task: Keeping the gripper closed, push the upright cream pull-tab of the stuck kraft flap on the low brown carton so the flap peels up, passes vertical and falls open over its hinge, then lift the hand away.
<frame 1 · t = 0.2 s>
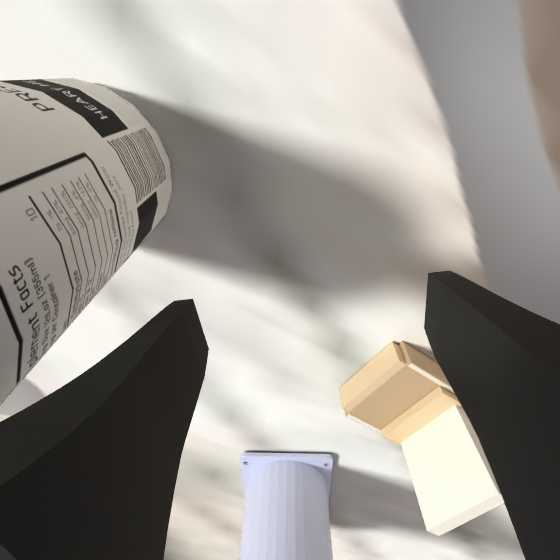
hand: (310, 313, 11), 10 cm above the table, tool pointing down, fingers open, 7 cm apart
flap: (440, 459, 22), point 5 cm above the table, hinge at -0.1°
carton: (400, 386, 26), on the table
supplement can: (100, 166, 19), on the table
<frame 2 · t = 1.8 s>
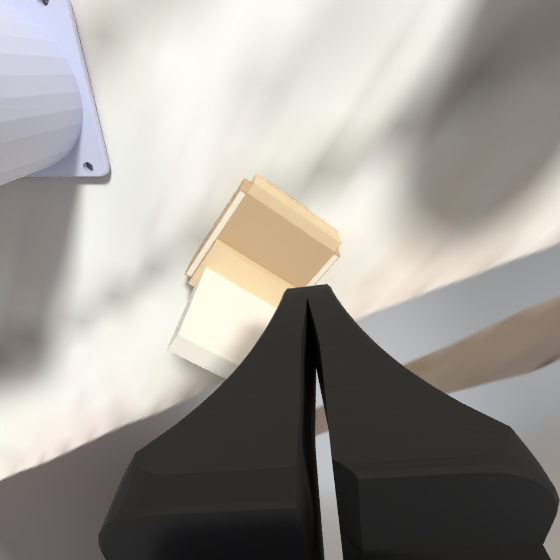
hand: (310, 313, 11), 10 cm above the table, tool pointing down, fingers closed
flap: (240, 317, 18), point 5 cm above the table, hinge at -0.1°
carton: (262, 249, 21), on the table
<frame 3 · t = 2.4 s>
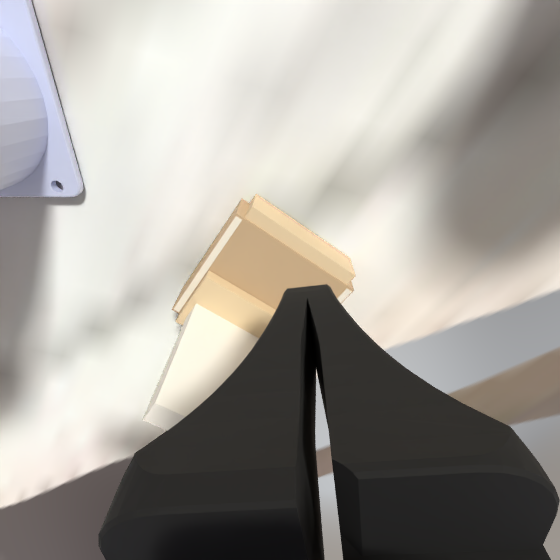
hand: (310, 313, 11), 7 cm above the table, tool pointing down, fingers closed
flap: (235, 367, 15), point 5 cm above the table, hinge at -0.1°
carton: (263, 279, 19), on the table
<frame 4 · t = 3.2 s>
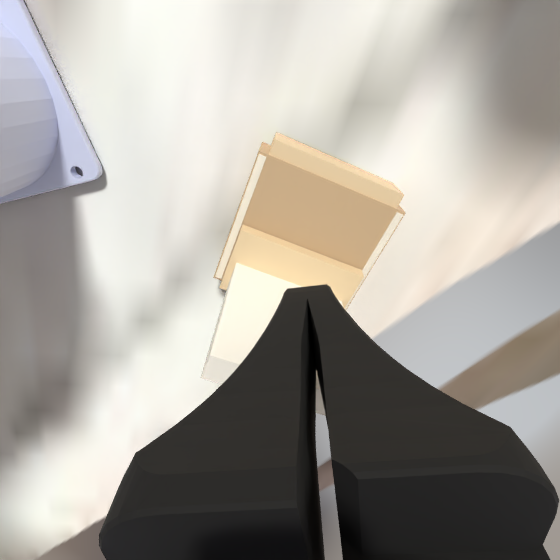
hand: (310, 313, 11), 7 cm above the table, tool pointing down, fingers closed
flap: (290, 317, 13), point 5 cm above the table, hinge at 0.5°, touching gripper
carton: (302, 229, 17), on the table
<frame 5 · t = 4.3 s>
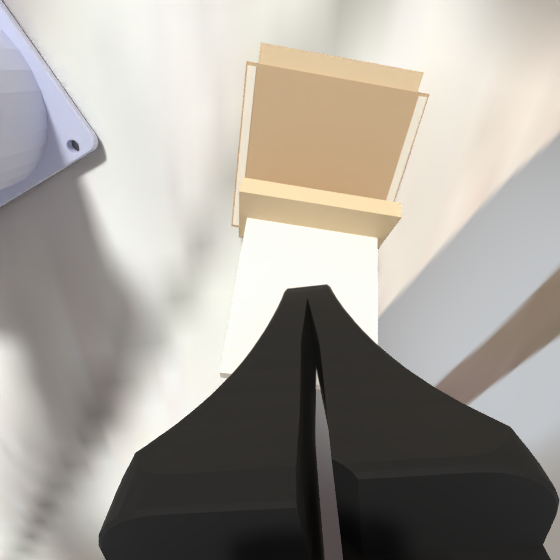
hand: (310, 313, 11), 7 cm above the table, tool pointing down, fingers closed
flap: (307, 290, 12), point 6 cm above the table, hinge at 35.8°
carton: (317, 156, 15), on the table
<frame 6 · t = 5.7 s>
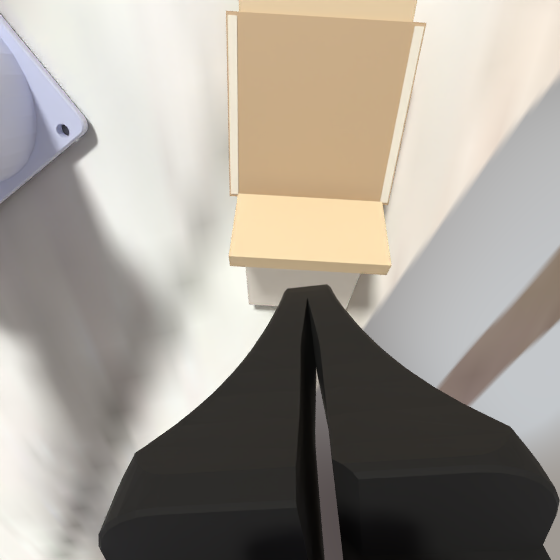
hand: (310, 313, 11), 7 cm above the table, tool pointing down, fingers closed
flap: (302, 274, 16), point 2 cm above the table, hinge at 117.8°
carton: (313, 114, 15), on the table
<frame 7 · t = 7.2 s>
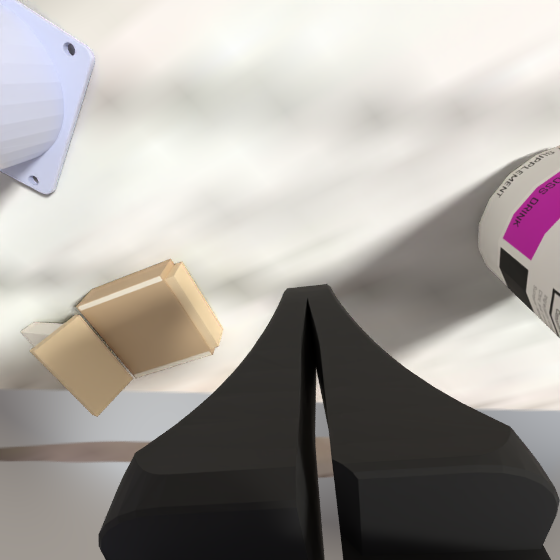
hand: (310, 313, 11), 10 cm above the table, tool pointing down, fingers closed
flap: (65, 361, 23), point 2 cm above the table, hinge at 117.8°
carton: (157, 312, 24), on the table
supplement can: (545, 214, 20), on the table
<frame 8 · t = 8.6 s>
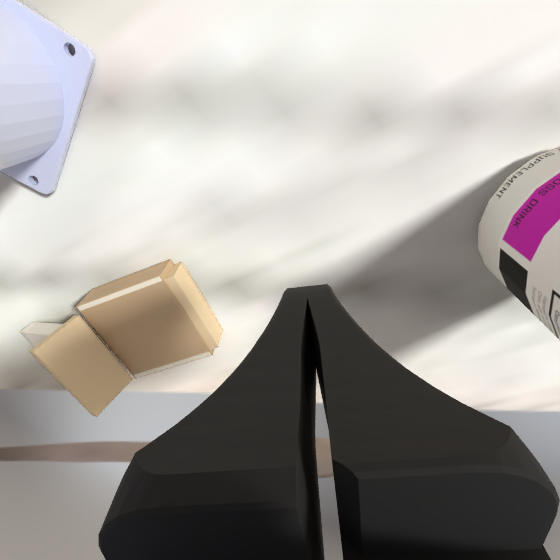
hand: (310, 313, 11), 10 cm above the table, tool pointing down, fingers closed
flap: (64, 361, 23), point 2 cm above the table, hinge at 117.8°
carton: (157, 313, 24), on the table
supplement can: (545, 215, 20), on the table
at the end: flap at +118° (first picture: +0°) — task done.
